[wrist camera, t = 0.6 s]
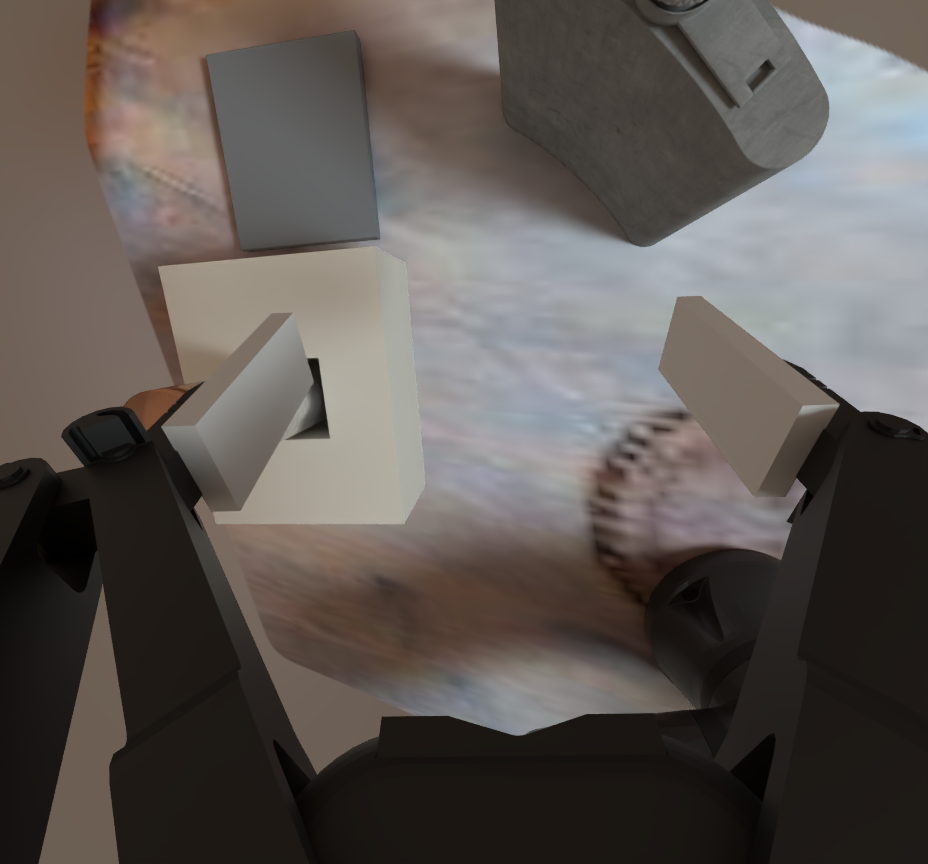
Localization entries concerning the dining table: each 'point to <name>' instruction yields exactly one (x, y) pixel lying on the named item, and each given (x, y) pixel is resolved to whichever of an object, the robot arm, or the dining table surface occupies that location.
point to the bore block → (342, 372)
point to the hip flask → (659, 100)
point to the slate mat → (296, 142)
